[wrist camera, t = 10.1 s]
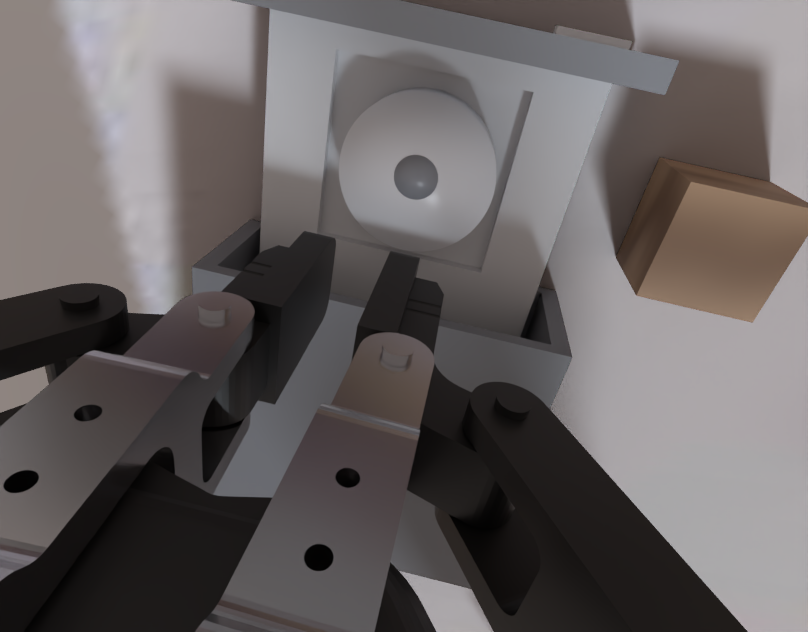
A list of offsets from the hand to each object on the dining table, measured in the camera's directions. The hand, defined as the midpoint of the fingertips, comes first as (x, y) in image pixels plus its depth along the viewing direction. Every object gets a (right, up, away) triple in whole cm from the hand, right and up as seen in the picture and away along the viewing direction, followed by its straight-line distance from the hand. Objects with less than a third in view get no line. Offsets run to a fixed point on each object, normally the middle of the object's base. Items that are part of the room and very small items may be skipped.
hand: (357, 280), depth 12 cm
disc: (+2, +6, +10) cm, 11 cm away
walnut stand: (+14, +3, +11) cm, 18 cm away
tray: (+1, +4, +13) cm, 13 cm away
